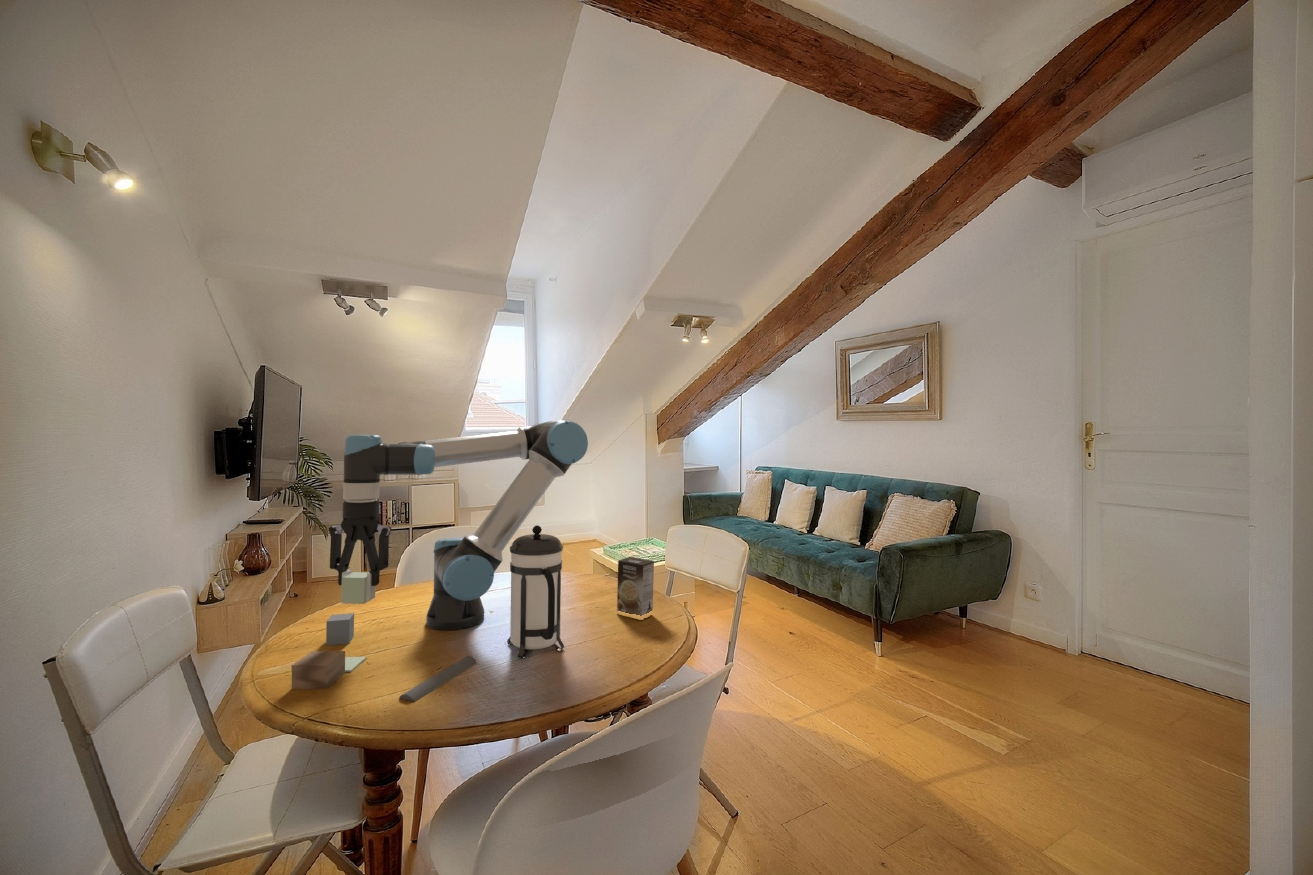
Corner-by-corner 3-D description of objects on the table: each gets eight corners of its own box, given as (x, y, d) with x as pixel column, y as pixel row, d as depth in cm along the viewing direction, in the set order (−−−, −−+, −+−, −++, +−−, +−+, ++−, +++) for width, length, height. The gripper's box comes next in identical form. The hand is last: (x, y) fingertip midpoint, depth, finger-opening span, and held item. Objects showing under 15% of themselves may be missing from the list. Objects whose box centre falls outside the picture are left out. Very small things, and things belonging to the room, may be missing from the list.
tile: (366, 658, 124) (366, 656, 124) (350, 672, 117) (351, 670, 117) (335, 658, 124) (335, 657, 124) (317, 672, 117) (317, 670, 117)
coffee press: (488, 655, 127) (489, 528, 127) (526, 632, 142) (528, 519, 142) (552, 667, 121) (553, 534, 121) (585, 642, 136) (587, 523, 136)
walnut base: (345, 674, 116) (345, 651, 116) (327, 689, 110) (327, 664, 109) (311, 674, 116) (311, 651, 116) (291, 689, 109) (291, 665, 109)
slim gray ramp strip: (397, 701, 106) (397, 692, 106) (462, 662, 124) (462, 654, 124) (414, 705, 104) (414, 696, 104) (478, 665, 123) (478, 657, 123)
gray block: (353, 636, 137) (354, 613, 137) (349, 643, 133) (349, 619, 133) (331, 638, 136) (331, 614, 136) (326, 645, 131) (326, 621, 131)
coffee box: (615, 615, 156) (616, 560, 156) (628, 609, 162) (629, 556, 162) (641, 621, 151) (642, 564, 151) (654, 615, 157) (654, 560, 157)
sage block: (374, 597, 129) (374, 572, 129) (363, 603, 124) (364, 577, 124) (352, 597, 129) (353, 572, 129) (341, 603, 124) (342, 577, 124)
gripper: (407, 499, 130) (404, 595, 130) (331, 497, 130) (328, 593, 130) (392, 503, 123) (389, 604, 123) (312, 501, 122) (309, 603, 122)
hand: (358, 598), depth 126 cm, fingers closed on sage block, 5 cm apart
